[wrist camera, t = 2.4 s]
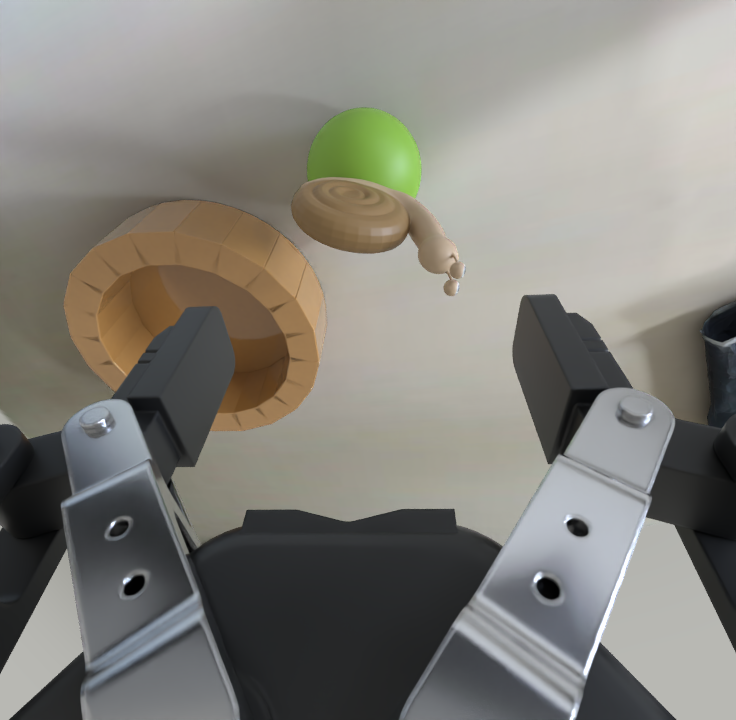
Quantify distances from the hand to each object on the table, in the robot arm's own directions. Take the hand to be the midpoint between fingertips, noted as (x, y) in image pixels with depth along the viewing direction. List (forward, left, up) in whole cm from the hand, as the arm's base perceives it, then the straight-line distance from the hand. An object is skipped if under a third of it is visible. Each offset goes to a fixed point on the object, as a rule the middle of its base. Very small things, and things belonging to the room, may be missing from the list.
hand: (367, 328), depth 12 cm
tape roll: (+9, -11, -15) cm, 20 cm away
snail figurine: (0, 0, -15) cm, 15 cm away
